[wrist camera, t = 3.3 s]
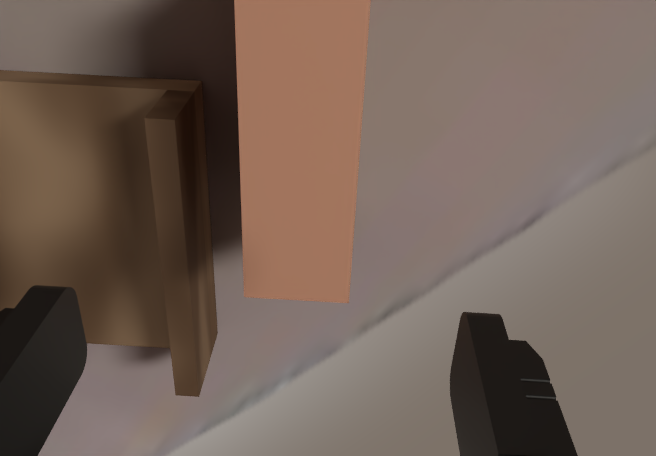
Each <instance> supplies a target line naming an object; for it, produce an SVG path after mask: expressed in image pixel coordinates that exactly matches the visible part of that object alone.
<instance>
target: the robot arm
mask: <svg viewBox="0 0 656 456" xmlns="http://www.w3.org/2000/svg"><path fill="white" fill-rule="evenodd" d="M86 357H87V343H86V338H85V333H84V328H83V323H82V318H81V313H80V308H79V303H78V298H77V294H76V292H75V290H74V289H73V288H72V287H60V286H44V285H34V286H32V287H31V288H30V289H29V290H28V291H27V293H26V294H25V295H24V296H23V298H22V299H21V300H20V302H19V303H18V304H17V305H16V307H15V308H4V309H3V310H1V311H0V456H38V454H39V452H40V450H41V448H42V447H43V445H44V443H45V441H46V439H47V437H48V436H49V434H50V432H51V430H52V428H53V426H54V425H55V423H56V421H57V419H58V417H59V415H60V414H61V412H62V410H63V408H64V406H65V404H66V402H67V401H68V399H69V397H70V395H71V393H72V391H73V390H74V388H75V386H76V384H77V382H78V380H79V379H80V377H81V375H82V373H83V370H84V367H85V363H86ZM450 396H451V403H452V409H453V415H454V421H455V427H456V433H457V439H458V445H459V450H460V456H578V455H577V453H576V450H575V447H574V445H573V442H572V439H571V437H570V433H569V431H568V428H567V425H566V422H565V420H564V417H563V414H562V411H561V409H560V406H559V403H558V401H556V395H555V392H554V389H553V387H552V384H550V378H549V375H548V373H547V370H546V367H545V365H544V362H543V360H542V358H541V357H540V356H539V355H538V354H537V353H536V351H535V350H534V349H533V348H532V347H531V346H530V345H529V344H528V343H527V342H526V341H519V340H509V339H508V336H507V332H506V329H505V326H504V322H503V319H502V317H501V315H499V314H487V313H471V312H463V313H462V316H461V318H460V323H459V328H458V334H457V340H456V345H455V350H454V355H453V361H452V366H451V373H450Z"/></svg>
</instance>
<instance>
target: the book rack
mask: <svg viewBox="0 0 656 456" xmlns="http://www.w3.org/2000/svg"><path fill="white" fill-rule="evenodd" d="M34 285H44V286H60V287H72V288H73V289H74V290H75V292H76V294H77V298H78V303H79V308H80V313H81V318H82V323H83V328H84V333H85V338H86V343H92V344H109V345H126V346H143V347H160V348H170V350H171V358H172V367H173V376H174V385H175V393H176V395H181V396H198V397H199V395H200V391H201V388H202V384H203V381H204V378H205V374H206V371H207V367H208V364H209V361H210V357H211V354H212V350H213V347H214V344H215V340H216V337H217V333H218V332H217V316H216V300H215V284H214V268H213V252H212V236H211V221H210V205H209V189H208V173H207V157H206V141H205V125H204V109H203V93H202V81H194V80H175V79H156V78H137V77H118V76H99V75H80V74H61V73H42V72H23V71H4V70H0V311H1V310H3V309H4V308H15V307H16V305H17V304H18V303H19V302H20V300H21V299H22V298H23V296H24V295H25V294H26V293H27V291H28V290H29V289H30V288H31V287H32V286H34Z"/></svg>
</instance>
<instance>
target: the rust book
mask: <svg viewBox="0 0 656 456" xmlns="http://www.w3.org/2000/svg"><path fill="white" fill-rule="evenodd" d="M370 1H371V0H234V6H235V36H236V66H237V95H238V125H239V155H240V185H241V215H242V244H243V274H244V297H252V298H269V299H287V300H304V301H322V302H339V303H349V292H350V278H351V264H352V250H353V236H354V222H355V209H356V195H357V181H358V167H359V153H360V139H361V126H362V112H363V98H364V84H365V70H366V56H367V43H368V29H369V15H370Z"/></svg>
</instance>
